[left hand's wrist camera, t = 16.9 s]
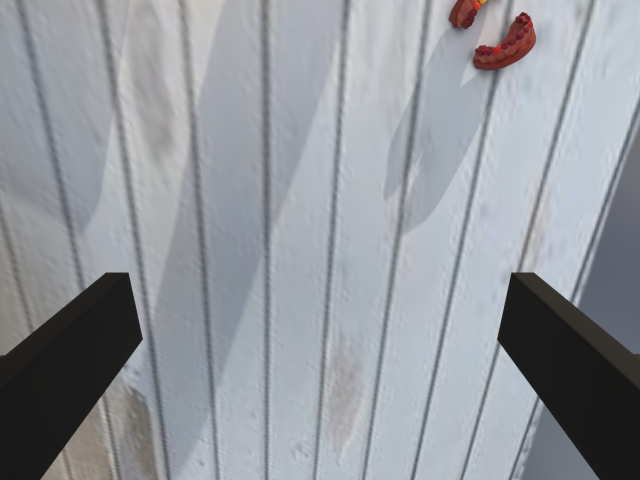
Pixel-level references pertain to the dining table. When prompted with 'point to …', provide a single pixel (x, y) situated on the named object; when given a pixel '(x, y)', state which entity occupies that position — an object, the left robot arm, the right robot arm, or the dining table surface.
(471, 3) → the dental model
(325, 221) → the dining table surface
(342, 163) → the dining table surface
